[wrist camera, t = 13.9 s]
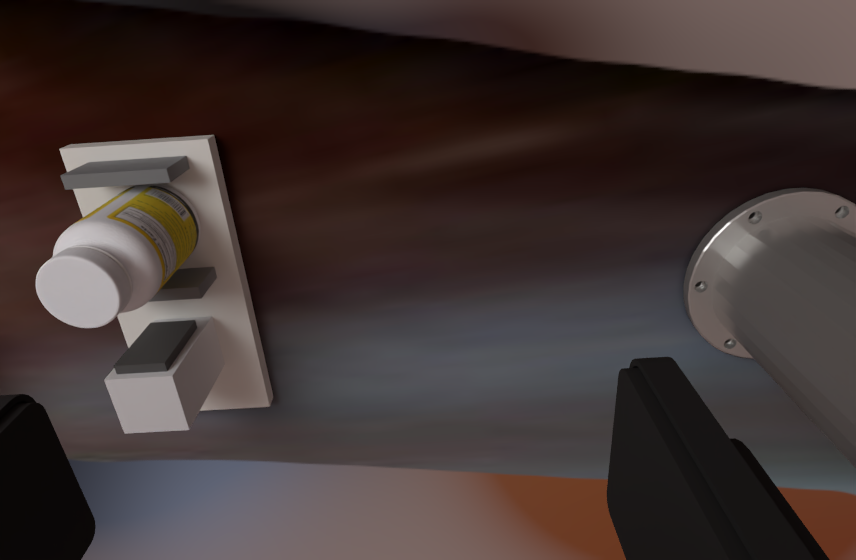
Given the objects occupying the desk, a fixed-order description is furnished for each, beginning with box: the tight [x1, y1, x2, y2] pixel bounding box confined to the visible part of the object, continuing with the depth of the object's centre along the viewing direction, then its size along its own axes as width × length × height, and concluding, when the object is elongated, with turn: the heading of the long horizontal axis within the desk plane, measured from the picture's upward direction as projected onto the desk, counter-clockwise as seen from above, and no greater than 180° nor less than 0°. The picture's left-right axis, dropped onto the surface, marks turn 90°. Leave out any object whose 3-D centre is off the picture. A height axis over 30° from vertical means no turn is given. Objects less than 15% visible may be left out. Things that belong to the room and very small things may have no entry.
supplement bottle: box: [36, 184, 200, 328], centre depth 32 cm, size 5×5×10 cm
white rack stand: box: [59, 135, 273, 433], centre depth 36 cm, size 9×20×8 cm, turn 4°
